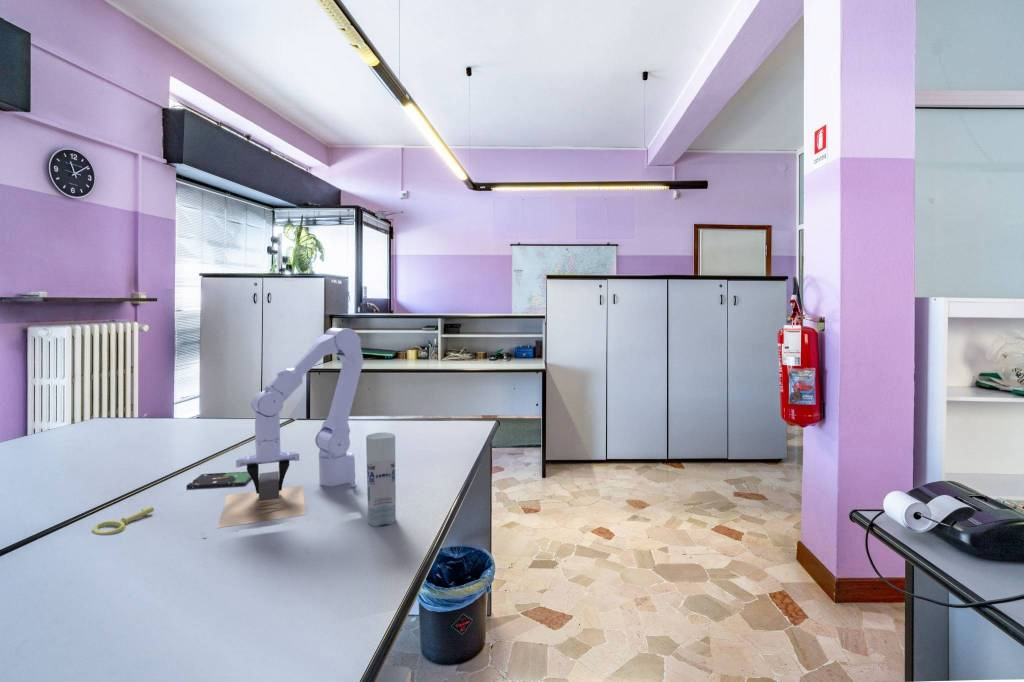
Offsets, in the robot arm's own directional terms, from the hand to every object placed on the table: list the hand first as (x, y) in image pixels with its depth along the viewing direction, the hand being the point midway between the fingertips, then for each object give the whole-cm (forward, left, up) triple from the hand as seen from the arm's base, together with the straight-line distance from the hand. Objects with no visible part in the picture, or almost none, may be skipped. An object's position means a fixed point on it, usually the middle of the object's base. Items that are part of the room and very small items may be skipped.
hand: (269, 490), depth 131 cm
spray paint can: (-24, +25, -3) cm, 35 cm away
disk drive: (+12, -18, -3) cm, 22 cm away
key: (+30, +2, -3) cm, 30 cm away
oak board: (+1, +6, -2) cm, 7 cm away
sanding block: (0, 0, -1) cm, 1 cm away
